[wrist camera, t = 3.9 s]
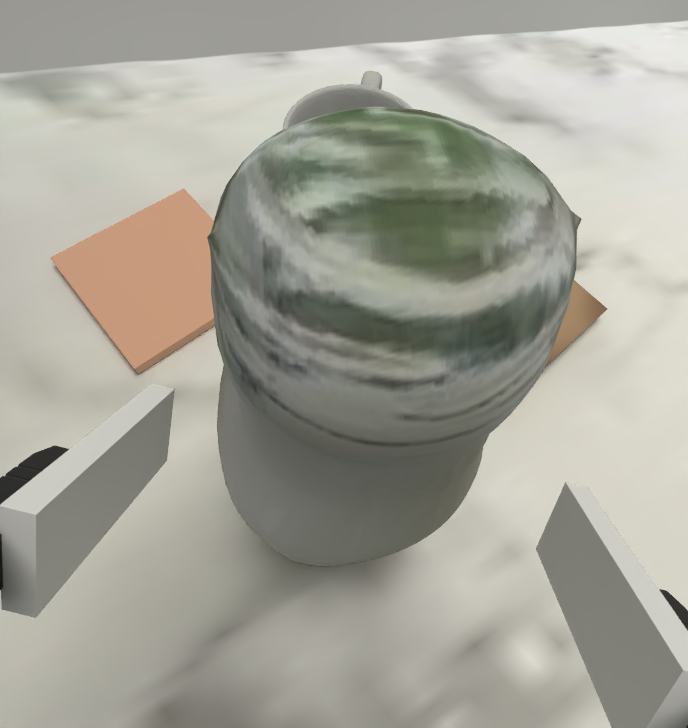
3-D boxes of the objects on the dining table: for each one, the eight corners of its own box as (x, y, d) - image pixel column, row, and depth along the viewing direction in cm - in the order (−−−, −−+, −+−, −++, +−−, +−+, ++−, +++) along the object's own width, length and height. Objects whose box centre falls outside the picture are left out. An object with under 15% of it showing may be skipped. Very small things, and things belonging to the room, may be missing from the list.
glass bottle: (373, 406, 36) (566, -25, 10) (413, 550, 32) (879, 417, 7) (239, 433, 34) (78, -8, 9) (264, 589, 30) (108, 618, 5)
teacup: (377, 269, 41) (395, 202, 34) (263, 222, 42) (256, 146, 35) (430, 163, 47) (455, 86, 40) (329, 123, 48) (335, 41, 41)
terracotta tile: (55, 265, 38) (49, 258, 37) (186, 197, 42) (183, 188, 41) (138, 374, 35) (134, 368, 34) (270, 289, 39) (269, 282, 38)
